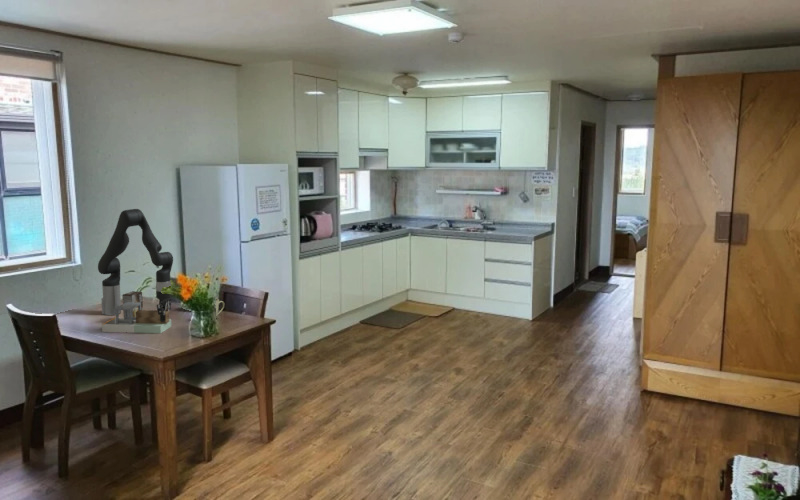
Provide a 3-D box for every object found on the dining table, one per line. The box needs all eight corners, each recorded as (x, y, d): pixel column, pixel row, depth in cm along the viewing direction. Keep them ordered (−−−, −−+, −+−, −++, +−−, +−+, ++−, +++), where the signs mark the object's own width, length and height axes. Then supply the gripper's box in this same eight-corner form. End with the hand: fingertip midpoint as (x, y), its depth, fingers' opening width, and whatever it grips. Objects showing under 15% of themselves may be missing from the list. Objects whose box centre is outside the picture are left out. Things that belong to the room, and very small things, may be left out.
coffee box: (133, 318, 334) (132, 291, 332) (143, 319, 333) (142, 291, 331) (123, 322, 325) (122, 294, 323) (133, 323, 324) (132, 295, 322)
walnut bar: (136, 322, 311) (135, 312, 310) (139, 320, 315) (139, 309, 314) (165, 323, 310) (165, 312, 310) (169, 321, 315) (168, 310, 314)
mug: (216, 322, 329) (215, 302, 327) (199, 321, 331) (199, 301, 329) (225, 318, 340) (224, 298, 338) (209, 316, 341) (208, 296, 340)
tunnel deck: (102, 331, 306) (101, 307, 305) (115, 324, 320) (114, 301, 318) (160, 333, 306) (159, 309, 305) (171, 326, 320) (170, 303, 318)
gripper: (162, 286, 317) (163, 316, 320) (150, 292, 303) (152, 323, 305) (175, 286, 317) (176, 317, 320) (165, 292, 303) (166, 324, 305)
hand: (164, 320), depth 312 cm, fingers closed on walnut bar, 4 cm apart
